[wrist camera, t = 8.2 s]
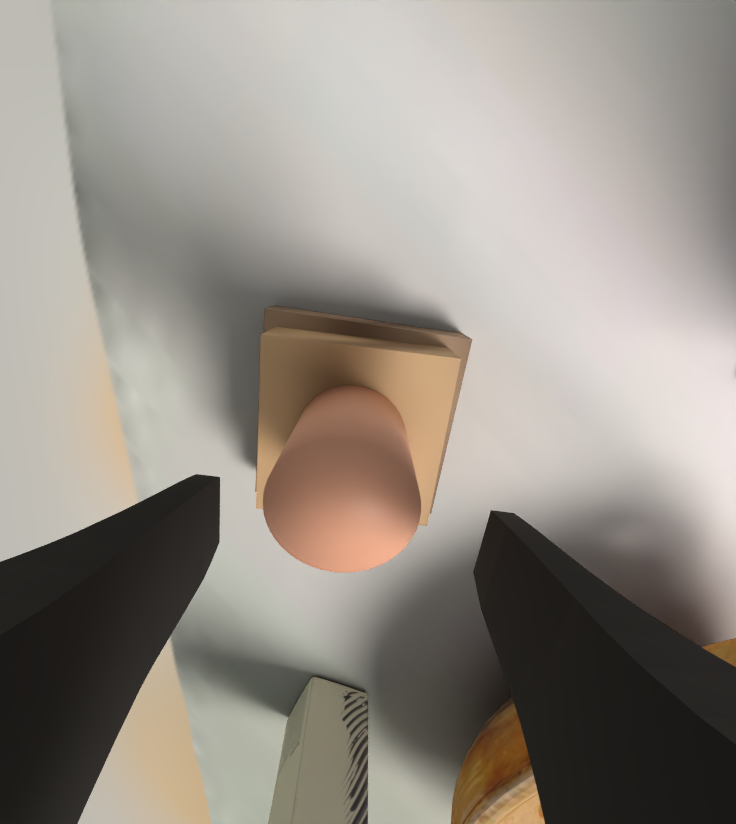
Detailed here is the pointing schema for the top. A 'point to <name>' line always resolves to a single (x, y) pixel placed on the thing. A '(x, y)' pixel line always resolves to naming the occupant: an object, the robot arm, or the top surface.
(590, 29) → the top surface
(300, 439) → the peach capsule
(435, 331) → the bottom block
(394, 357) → the top block
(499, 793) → the wooden bowl
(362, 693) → the box
